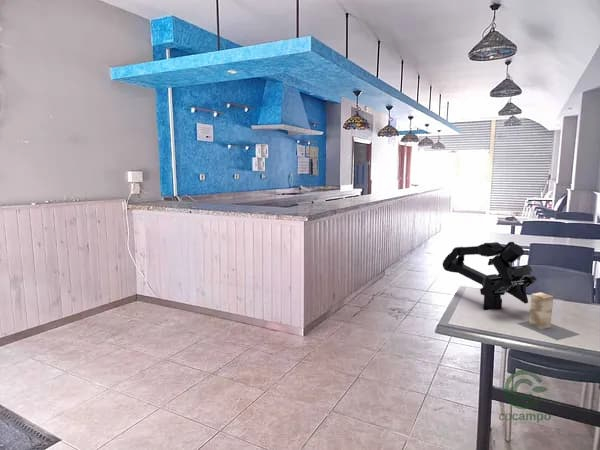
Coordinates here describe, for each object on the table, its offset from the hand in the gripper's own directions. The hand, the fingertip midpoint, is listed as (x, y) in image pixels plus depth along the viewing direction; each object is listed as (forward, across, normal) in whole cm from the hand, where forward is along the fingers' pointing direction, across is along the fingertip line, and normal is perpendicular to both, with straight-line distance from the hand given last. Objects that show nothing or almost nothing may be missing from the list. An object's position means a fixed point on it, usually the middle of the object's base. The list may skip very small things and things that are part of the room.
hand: (526, 303), depth 153 cm
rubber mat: (+12, 0, -1) cm, 12 cm away
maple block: (+9, 0, +1) cm, 9 cm away
